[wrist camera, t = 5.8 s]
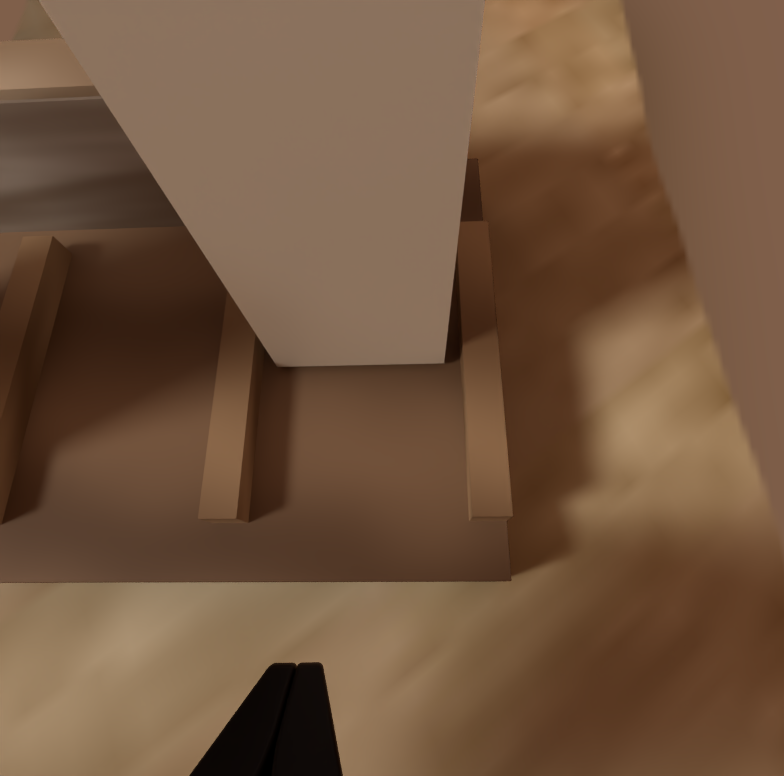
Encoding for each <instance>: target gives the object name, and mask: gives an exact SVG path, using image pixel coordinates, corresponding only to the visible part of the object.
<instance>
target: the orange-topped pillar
mask: <svg viewBox="0 0 784 776" xmlns="http://www.w3.org/2000/svg"><path fill="white" fill-rule="evenodd" d="M39 2H40V3H41V5H42V6H43V8H44V9H45V11H46V12H47V14H48V15H49V17H50V19H51V20H52V22H53V23H54V25H55V26H56V28H57V29H58V31H59V32H60V34H61V35H62V37H63V38H64V40H65V42H66V43H67V45H68V46H69V48H70V49H71V51H72V52H73V54H74V55H75V57H76V58H77V60H78V62H79V63H80V65H81V66H82V68H83V69H84V71H85V72H86V74H87V75H88V77H89V78H90V80H91V82H92V83H93V85H94V86H95V88H96V89H97V91H98V92H99V94H100V95H101V97H102V98H103V100H104V101H105V103H106V105H107V106H108V108H109V109H110V111H111V112H112V114H113V115H114V117H115V118H116V120H117V121H118V123H119V125H120V126H121V128H122V129H123V131H124V132H125V134H126V135H127V137H128V138H129V140H130V141H131V143H132V145H133V146H134V148H135V149H136V151H137V152H138V154H139V155H140V157H141V158H142V160H143V161H144V163H145V164H146V166H147V168H148V169H149V171H150V172H151V174H152V175H153V177H154V178H155V180H156V181H157V183H158V184H159V186H160V188H161V189H162V191H163V192H164V194H165V195H166V197H167V198H168V200H169V201H170V203H171V204H172V206H173V208H174V209H175V211H176V212H177V214H178V215H179V217H180V218H181V220H182V221H183V223H184V224H185V226H186V227H187V229H188V231H189V232H190V234H191V235H192V237H193V238H194V240H195V241H196V243H197V244H198V246H199V247H200V249H201V251H202V252H203V254H204V255H205V257H206V258H207V260H208V261H209V263H210V264H211V266H212V267H213V269H214V271H215V272H216V274H217V275H218V277H219V278H220V280H221V281H222V283H223V284H224V286H225V287H226V289H227V290H228V292H229V294H230V295H231V297H232V298H233V300H234V301H235V303H236V304H237V306H238V307H239V309H240V310H241V312H242V314H243V315H244V317H245V318H246V320H247V321H248V323H249V324H250V326H251V327H252V329H253V330H254V332H255V333H256V335H257V337H258V338H259V340H260V341H261V343H262V344H263V346H264V347H265V349H266V350H267V352H268V353H269V355H270V357H271V358H272V360H273V361H274V363H275V364H276V366H277V367H298V366H344V365H391V364H437V363H444V359H445V350H446V342H447V333H448V324H449V315H450V306H451V297H452V288H453V279H454V271H455V262H456V253H457V244H458V235H459V226H460V217H461V209H462V200H463V191H464V182H465V173H466V164H467V155H468V146H469V138H470V129H471V120H472V111H473V102H474V93H475V84H476V75H477V67H478V58H479V49H480V40H481V31H482V22H483V13H484V4H485V0H39Z"/></svg>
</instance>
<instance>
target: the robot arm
mask: <svg viewBox="0 0 784 776" xmlns="http://www.w3.org/2000/svg"><path fill="white" fill-rule="evenodd" d="M190 776H343V774H342V768H341V763H340V757H339V752H338V746H337V741H336V735H335V730H334V724H333V719H332V713H331V707H330V702H329V696H328V691H327V685H326V680H325V674H324V669H323V665H322V664H321V663H319V662H312V663H300V664H298V666H297V665H296V664H295V663H274V664H272V665H270V666H269V667H268V669H267V670H266V671H265V673H264V674H263V675H262V677H261V678H260V680H259V681H258V682H257V684H256V685H255V686H254V688H253V689H252V691H251V692H250V693H249V695H248V696H247V697H246V699H245V700H244V702H243V703H242V704H241V706H240V707H239V708H238V710H237V711H236V712H235V714H234V715H233V717H232V718H231V719H230V721H229V722H228V723H227V725H226V726H225V728H224V729H223V730H222V732H221V733H220V734H219V736H218V737H217V739H216V740H215V741H214V743H213V744H212V745H211V747H210V748H209V749H208V751H207V752H206V754H205V755H204V756H203V758H202V759H201V760H200V762H199V763H198V765H197V766H196V767H195V769H194V770H193V771H192V773H191V774H190Z"/></svg>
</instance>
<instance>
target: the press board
mask: <svg viewBox="0 0 784 776" xmlns="http://www.w3.org/2000/svg"><path fill="white" fill-rule="evenodd" d="M511 517H513V509H512V497H511V486H510V474H509V462H508V450H507V438H506V426H505V414H504V402H503V391H502V379H501V367H500V355H499V343H498V331H497V319H496V308H495V296H494V284H493V272H492V260H491V248H490V236H489V225H488V221H483V217H482V205H481V192H480V180H479V167H478V159H467V164H466V173H465V182H464V191H463V200H462V209H461V217H460V226H459V235H458V244H457V253H456V262H455V271H454V279H453V288H452V297H451V306H450V315H449V324H448V333H447V342H446V350H445V359H444V363H437V364H391V365H344V366H298V367H277V366H276V364H275V363H274V361H273V360H272V358H271V357H270V355H269V353H268V352H267V350H266V349H265V347H264V346H263V344H262V343H261V341H260V340H259V338H258V337H257V335H256V333H255V332H254V330H253V329H252V327H251V326H250V324H249V323H248V321H247V320H246V318H245V317H244V315H243V314H242V312H241V310H240V309H239V307H238V306H237V304H236V303H235V301H234V300H233V298H232V297H231V295H230V294H229V292H228V290H227V289H226V287H225V286H224V284H223V283H222V281H221V280H220V278H219V277H218V275H217V274H216V272H215V271H214V269H213V267H212V266H211V264H210V263H209V261H208V260H207V258H206V257H205V255H204V254H203V252H202V251H201V249H200V247H199V246H198V244H197V243H196V241H195V240H194V238H193V237H192V235H191V234H190V232H189V231H188V229H187V227H186V226H185V224H184V223H183V221H182V220H181V218H180V217H179V215H178V214H177V212H176V211H175V209H174V208H173V206H172V204H171V203H170V201H169V200H168V198H167V197H166V195H165V194H164V192H163V191H162V189H161V188H160V186H159V184H158V183H157V181H156V180H155V178H154V177H153V175H152V174H151V172H150V171H149V169H148V168H147V166H146V164H145V163H144V161H143V160H142V158H141V157H140V155H139V154H138V152H137V151H136V149H135V148H134V146H133V145H132V143H131V141H130V140H129V138H128V137H127V135H126V134H125V132H124V131H123V129H122V128H121V126H120V125H119V123H118V121H117V120H116V118H115V117H114V115H113V114H112V112H111V111H110V109H109V108H108V106H107V105H106V103H105V101H104V100H103V98H102V97H101V95H100V94H99V92H98V91H97V89H96V88H95V86H94V85H93V83H92V82H91V80H90V78H89V77H88V75H87V74H86V72H85V71H84V69H83V68H82V66H81V65H80V63H79V62H78V60H77V58H76V57H75V55H74V54H73V52H72V51H71V49H70V48H69V46H68V45H67V43H66V42H65V40H64V38H57V39H37V40H18V41H1V42H0V583H58V582H456V581H511V568H510V556H509V543H508V531H507V520H509V519H510V518H511Z"/></svg>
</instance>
